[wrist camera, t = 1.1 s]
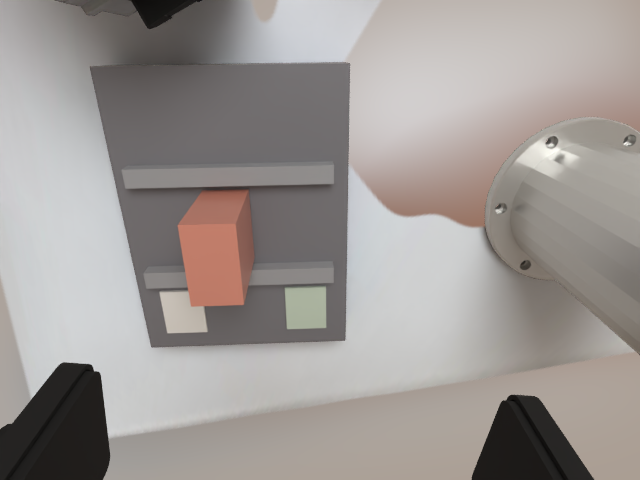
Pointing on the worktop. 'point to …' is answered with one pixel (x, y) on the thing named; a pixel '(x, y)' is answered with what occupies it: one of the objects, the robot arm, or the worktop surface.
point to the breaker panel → (235, 174)
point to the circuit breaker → (135, 8)
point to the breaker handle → (218, 247)
